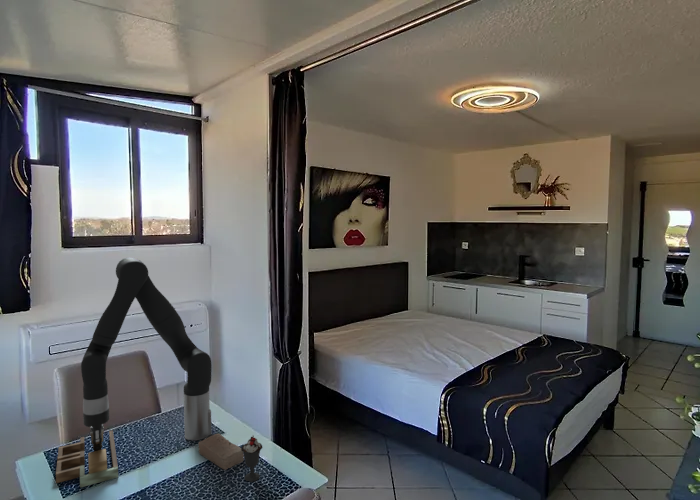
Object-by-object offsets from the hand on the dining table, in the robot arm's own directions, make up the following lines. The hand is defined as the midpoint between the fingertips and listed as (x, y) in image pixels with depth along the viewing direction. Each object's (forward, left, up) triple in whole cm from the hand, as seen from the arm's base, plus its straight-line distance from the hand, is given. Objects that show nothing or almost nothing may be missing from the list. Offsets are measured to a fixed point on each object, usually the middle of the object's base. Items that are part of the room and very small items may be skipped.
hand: (97, 457), depth 145 cm
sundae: (-42, +34, -2) cm, 54 cm away
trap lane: (+3, -2, -2) cm, 4 cm away
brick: (-37, +17, -3) cm, 41 cm away
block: (0, +7, -2) cm, 7 cm away
